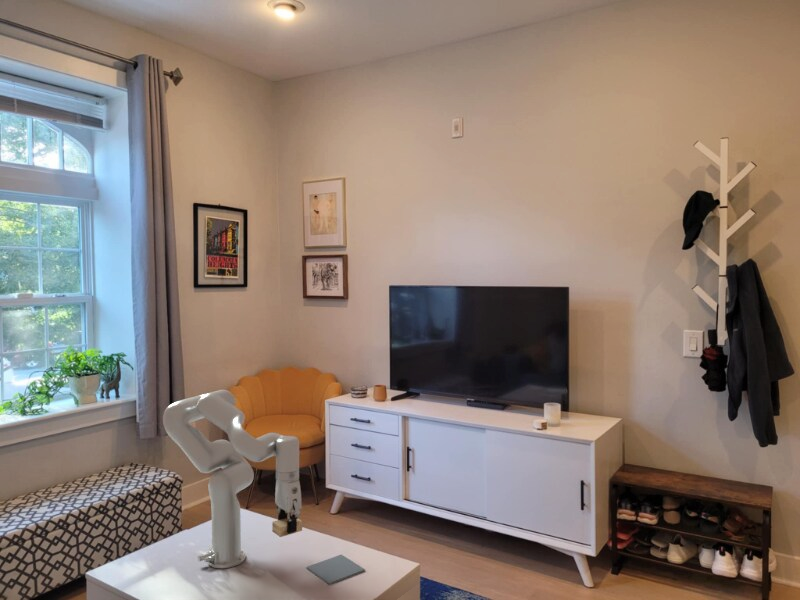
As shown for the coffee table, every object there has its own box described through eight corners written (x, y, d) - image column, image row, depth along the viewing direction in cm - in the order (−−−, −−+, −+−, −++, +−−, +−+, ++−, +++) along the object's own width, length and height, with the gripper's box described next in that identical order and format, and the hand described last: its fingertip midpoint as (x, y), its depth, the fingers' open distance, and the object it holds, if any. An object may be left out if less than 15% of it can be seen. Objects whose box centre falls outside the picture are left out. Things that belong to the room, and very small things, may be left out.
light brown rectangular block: (280, 537, 188) (280, 527, 188) (272, 531, 192) (272, 521, 192) (302, 530, 193) (302, 521, 193) (293, 525, 197) (294, 515, 197)
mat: (329, 584, 184) (328, 583, 184) (306, 568, 194) (306, 566, 194) (364, 571, 192) (364, 569, 192) (341, 556, 203) (341, 554, 203)
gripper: (310, 479, 188) (310, 534, 188) (285, 466, 201) (284, 518, 201) (290, 484, 183) (289, 541, 183) (265, 470, 196) (265, 523, 196)
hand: (287, 528), depth 192 cm, fingers closed on light brown rectangular block, 5 cm apart
